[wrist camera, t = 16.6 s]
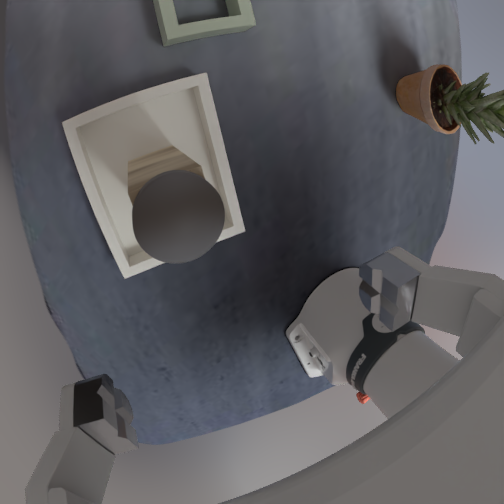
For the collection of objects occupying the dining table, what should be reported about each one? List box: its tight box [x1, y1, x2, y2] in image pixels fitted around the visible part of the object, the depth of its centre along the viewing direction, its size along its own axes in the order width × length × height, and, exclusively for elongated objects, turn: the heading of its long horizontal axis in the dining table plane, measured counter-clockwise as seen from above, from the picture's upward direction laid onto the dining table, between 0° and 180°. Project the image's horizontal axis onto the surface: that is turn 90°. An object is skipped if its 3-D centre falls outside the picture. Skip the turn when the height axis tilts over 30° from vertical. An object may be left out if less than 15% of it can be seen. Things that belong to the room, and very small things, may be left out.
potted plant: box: [396, 65, 504, 144], centre depth 25 cm, size 10×10×25 cm
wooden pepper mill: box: [128, 145, 225, 264], centre depth 22 cm, size 5×5×13 cm
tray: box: [62, 73, 245, 279], centre depth 27 cm, size 16×13×3 cm
